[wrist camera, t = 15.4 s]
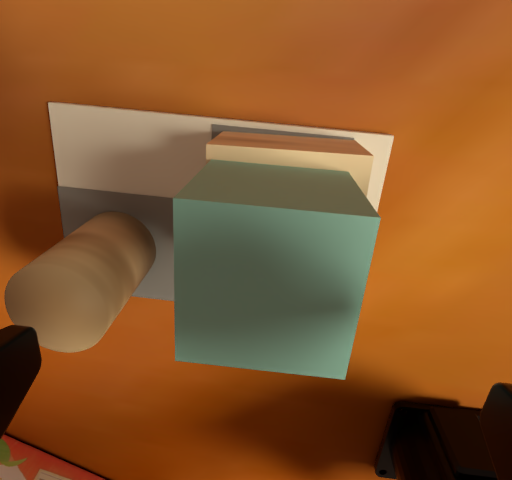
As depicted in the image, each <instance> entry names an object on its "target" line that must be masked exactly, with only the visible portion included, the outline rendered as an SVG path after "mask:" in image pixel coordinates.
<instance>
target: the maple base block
mask: <svg viewBox="0 0 512 480" xmlns="http://www.w3.org/2000/svg"><path fill="white" fill-rule="evenodd" d="M211 159H213V160H224V161H235V162H246V163H257V164H268V165H280V166H291V167H302V168H313V169H324V170H335V171H346V172H349V173H350V175H351V176H352V178H353V179H354V180H355V182H356V183H357V185H358V186H359V188H360V189H361V190H362V192H363V193H364V195H365V196H366V197H367V192H368V186H369V181H370V175H371V170H372V164H373V159H374V156H373V155H372V154H371V153H370V152H369V151H367V150H366V149H365V148H364V147H363V146H361V145H360V144H359V143H358V142H357V141H355V140H347V139H332V138H317V137H303V136H288V135H273V134H259V133H244V132H229V131H223V132H221V133H220V134H219V135H218V136H216V137H215V138H214V139H212V140H211V141H210V142H208V143H207V144H206V164H207V163H208V162H209V161H210V160H211Z"/></svg>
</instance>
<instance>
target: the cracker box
mask: <svg viewBox="0 0 512 480" xmlns="http://www.w3.org/2000/svg"><path fill="white" fill-rule="evenodd" d="M0 480H106V479H104V478H101V477H99V476H97V475H95V474H92V473H90V472H88V471H86V470H83V469H81V468H79V467H76V466H74V465H72V464H70V463H67V462H65V461H63V460H61V459H58V458H56V457H54V456H52V455H49V454H47V453H45V452H43V451H40V450H38V449H36V448H34V447H31V446H29V445H27V444H24V443H22V442H20V441H18V440H15V439H13V438H11V437H9V436H7V435H3V436H2V438H1V440H0Z"/></svg>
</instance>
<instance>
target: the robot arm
mask: <svg viewBox="0 0 512 480" xmlns="http://www.w3.org/2000/svg"><path fill="white" fill-rule="evenodd" d="M41 361H42V360H41V353H40V348H39V342H38V336H37V332H36V330H35V329H34V328H33V327H30V326H21V325H10V326H8V327H5V328H3V329H0V440H1V438H2V436H3V435H4V433H5V431H6V429H7V428H8V426H9V424H10V422H11V420H12V419H13V417H14V415H15V413H16V412H17V410H18V408H19V406H20V404H21V403H22V401H23V399H24V397H25V396H26V394H27V392H28V390H29V388H30V387H31V385H32V383H33V381H34V380H35V378H36V376H37V374H38V372H39V370H40V367H41ZM374 469H375V473H376V475H377V476H379V477H384V478H391V479H397V480H512V384H509V383H496V384H494V385H493V386H492V388H491V390H490V392H489V394H488V397H487V399H486V401H485V403H484V406H483V408H482V410H481V411H476V410H468V409H459V408H451V407H443V406H435V405H427V404H419V403H411V402H396V403H395V404H394V405H393V407H392V410H391V413H390V417H389V420H388V423H387V426H386V429H385V433H384V436H383V439H382V442H381V445H380V449H379V452H378V455H377V458H376V462H375V465H374Z"/></svg>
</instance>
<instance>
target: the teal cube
mask: <svg viewBox="0 0 512 480" xmlns="http://www.w3.org/2000/svg"><path fill="white" fill-rule="evenodd" d="M379 223H380V216H379V215H378V213H377V212H376V210H375V209H374V208H373V206H372V205H371V203H370V202H369V200H368V199H367V198H366V196H365V195H364V193H363V192H362V190H361V189H360V188H359V186H358V185H357V183H356V182H355V180H354V179H353V178H352V176H351V175H350V173H349V172H346V171H335V170H324V169H313V168H302V167H291V166H280V165H268V164H257V163H246V162H235V161H224V160H213V159H211V160H210V161H209V162H208V163H207V164H206V165H205V166H204V167H203V168H202V169H201V170H200V171H199V172H198V173H197V174H196V175H195V176H194V177H193V178H192V179H191V180H190V181H189V182H188V183H187V184H186V185H185V186H184V187H183V188H182V189H181V190H180V191H179V192H178V193H177V194H176V195H175V196H174V197H173V236H174V308H175V361H183V362H192V363H201V364H210V365H219V366H227V367H236V368H245V369H254V370H263V371H272V372H280V373H289V374H298V375H307V376H316V377H325V378H334V379H342V380H345V378H346V373H347V369H348V364H349V360H350V355H351V351H352V346H353V341H354V337H355V332H356V328H357V323H358V319H359V314H360V310H361V305H362V300H363V296H364V291H365V287H366V282H367V278H368V273H369V269H370V264H371V259H372V255H373V250H374V246H375V241H376V237H377V232H378V228H379Z"/></svg>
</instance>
